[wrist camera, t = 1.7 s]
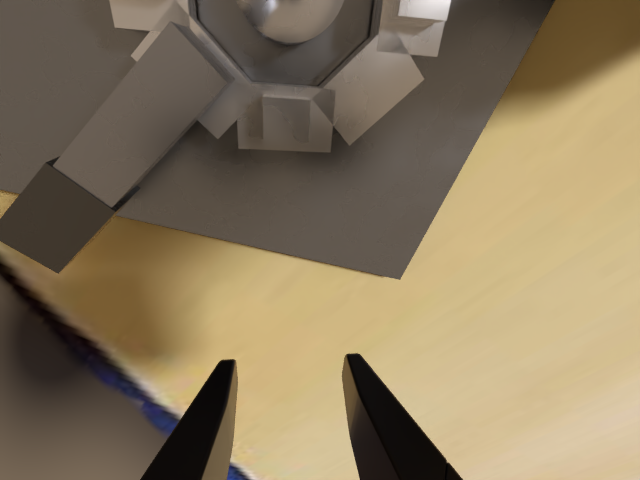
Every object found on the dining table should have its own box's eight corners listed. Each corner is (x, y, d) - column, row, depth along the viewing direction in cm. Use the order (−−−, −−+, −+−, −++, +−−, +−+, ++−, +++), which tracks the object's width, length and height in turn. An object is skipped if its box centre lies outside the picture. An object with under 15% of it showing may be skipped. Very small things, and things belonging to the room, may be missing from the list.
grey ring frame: (295, -449, 9) (314, -944, 4) (491, 6, 14) (581, -16, 10) (-58, 104, 14) (-208, 124, 10) (192, 275, 20) (168, 335, 15)
